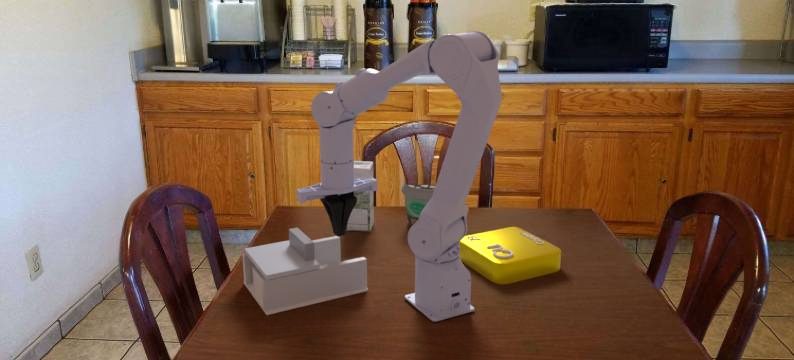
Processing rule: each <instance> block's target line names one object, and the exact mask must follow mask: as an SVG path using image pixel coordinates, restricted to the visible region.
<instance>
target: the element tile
mask: <svg viewBox="0 0 794 360" xmlns="http://www.w3.org/2000/svg"><path fill="white" fill-rule="evenodd" d="M460 258H461V261H462V264H463V263H464V265H467V266H468V267H469V268H470V269H473V270H474V271H476V272H477V273H478V274H480V275H481V276H483V277H484V278H486V279H487V280H489V281H490V282H493V283H495V284H497V285H509V284H513V283H517V282H520V281H521V282H522V281H525V280H530V279H533V278H537V277H542V276H546V275H549V274H555V273H556V272H559V271H560V269H561V260H562V259H561V258H562V249H561V248H559V247H558V246H556V245H554V244H552V243H550V242H549V241H546V240H544V239H542V238H540V237H538V236H536V235H535V234H532V233H531V232H529V231H527V230H524V229H523V228H521V227H517V226H509V227H508V226H507V227H504V228H498V229H495V230H494V229H493V230H488V231H484V232H478V233H473V234H467V235H465V237H464V238H463V239H462V240H461V241H460Z"/></svg>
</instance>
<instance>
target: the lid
mask: <svg viewBox="0 0 794 360" xmlns="http://www.w3.org/2000/svg"><path fill="white" fill-rule="evenodd" d="M244 253H245V254H246V255H247V256H248V257H249V259H250V260H251V261H252V262H253V264H254V265H255V266H256V267H257V269H258V270H259V271H260V272H261V274H262V275H263V276H264V277H265V279H266V280H270V279H274V278H279V277H284V276H288V275H293V274H298V273H302V272H307V271H312V270H316V269H320V264H319V263H318V262H317V261H316V260H315V250H314V242H313V241H312V239H311V238H309V236H308V235H306V234H305V233H304V232H303V231H302V230H301V229H300V228H299V227H293V228H289V229H288V240H284V241H278V242H272V243H268V244H261V245H258V246H256V245H255V246H252V247H250V246H249V247H246V248H244Z"/></svg>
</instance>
